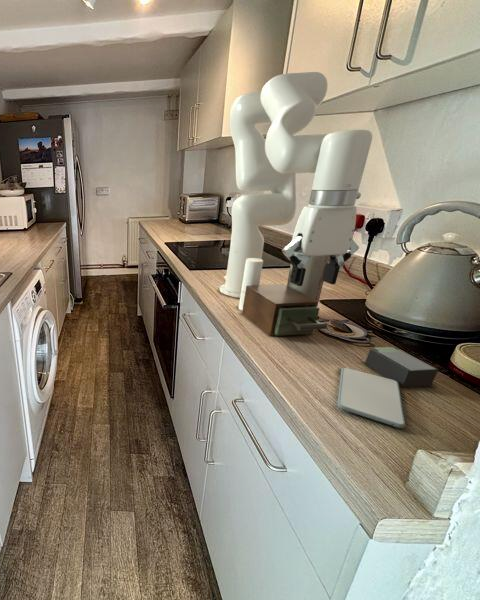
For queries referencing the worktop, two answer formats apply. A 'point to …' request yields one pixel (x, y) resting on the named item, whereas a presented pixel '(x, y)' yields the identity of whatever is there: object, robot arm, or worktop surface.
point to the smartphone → (371, 397)
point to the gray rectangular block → (401, 367)
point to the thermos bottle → (311, 277)
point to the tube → (250, 276)
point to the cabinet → (270, 304)
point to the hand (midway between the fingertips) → (312, 282)
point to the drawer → (297, 320)
